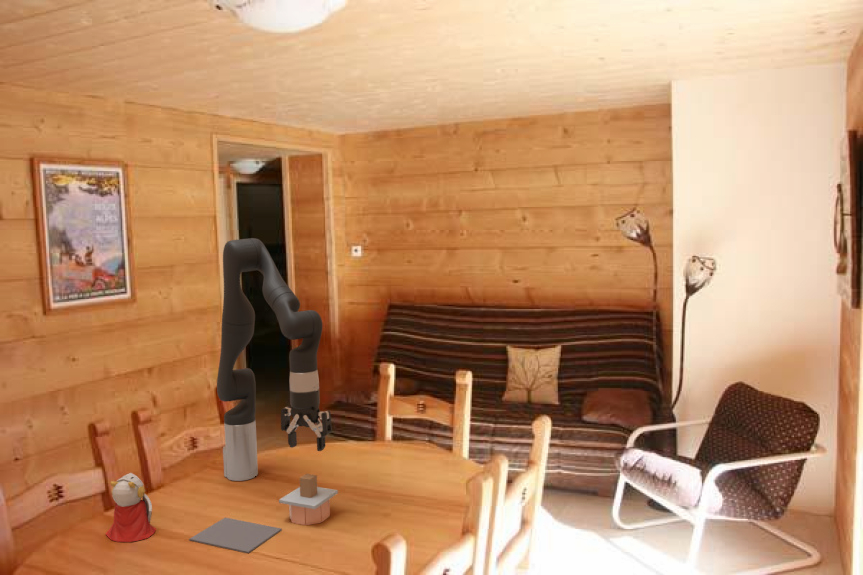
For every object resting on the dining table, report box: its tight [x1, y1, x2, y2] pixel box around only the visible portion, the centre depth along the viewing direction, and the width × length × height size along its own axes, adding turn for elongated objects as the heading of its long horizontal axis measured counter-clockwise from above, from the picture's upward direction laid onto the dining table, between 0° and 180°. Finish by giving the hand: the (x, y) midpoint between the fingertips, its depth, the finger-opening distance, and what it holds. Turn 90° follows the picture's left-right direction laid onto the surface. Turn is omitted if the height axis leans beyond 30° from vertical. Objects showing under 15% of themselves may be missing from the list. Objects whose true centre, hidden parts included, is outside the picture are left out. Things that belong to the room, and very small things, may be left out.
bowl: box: [288, 499, 331, 526], centre depth 178 cm, size 10×10×5 cm
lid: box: [278, 473, 339, 509], centre depth 178 cm, size 11×11×6 cm
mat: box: [188, 517, 283, 554], centre depth 168 cm, size 18×13×1 cm
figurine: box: [105, 472, 157, 543], centre depth 171 cm, size 13×12×15 cm
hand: (306, 448), depth 177 cm, fingers open, 8 cm apart
